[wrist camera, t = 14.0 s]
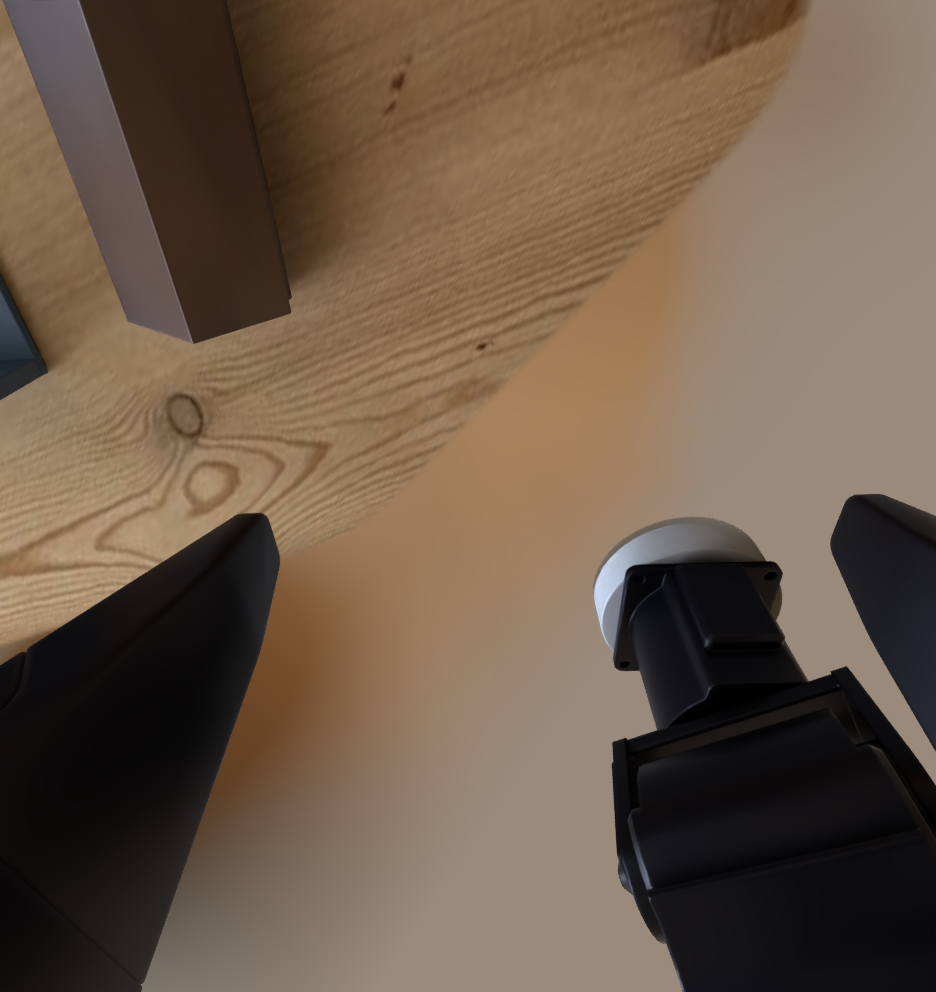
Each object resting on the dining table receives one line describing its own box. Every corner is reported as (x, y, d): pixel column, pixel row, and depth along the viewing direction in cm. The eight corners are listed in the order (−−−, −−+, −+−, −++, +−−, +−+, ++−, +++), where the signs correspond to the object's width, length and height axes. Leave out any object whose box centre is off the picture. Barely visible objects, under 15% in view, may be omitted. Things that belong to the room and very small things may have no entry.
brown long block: (320, 304, 16) (193, 344, 14) (250, 290, 18) (127, 322, 16) (183, -402, 10) (-112, -574, 7) (95, -307, 12) (-162, -417, 9)
